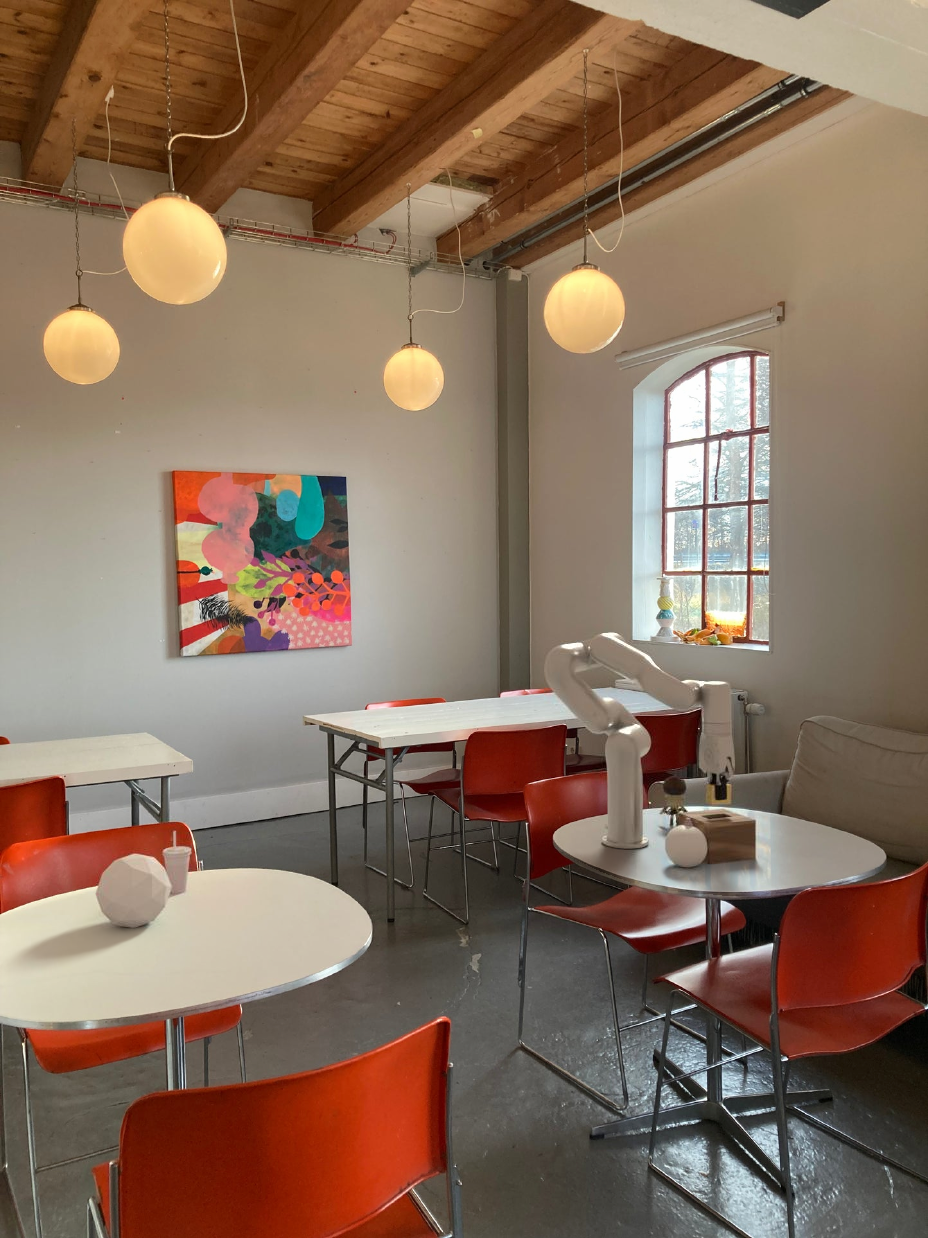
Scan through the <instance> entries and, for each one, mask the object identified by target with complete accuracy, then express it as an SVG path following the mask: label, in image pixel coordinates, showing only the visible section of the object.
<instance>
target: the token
mask: <svg viewBox="0 0 928 1238" xmlns="http://www.w3.org/2000/svg"><path fill="white" fill-rule="evenodd" d="M715 785H717V784H709V783H706V791H705V793H706V794H705V803H706V804H708V805H711V806H712V805H731V804H732V784H729V783H728V785H727V799H726V800H716V791H715Z"/></svg>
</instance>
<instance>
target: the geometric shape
mask: <svg viewBox="0 0 928 1238" xmlns="http://www.w3.org/2000/svg"><path fill="white" fill-rule="evenodd" d="M171 888H172V886H171V883H170V881H169V878H168V876H167V873H166V867H164V866H163V865H162V864H161V863H160V861H158V860H157V858H156V857H155V856H148V855H144V854H140V853H131V854H129V855H127V856H123V857H120V858H118V859H115V860H113V862H111V864H110V865H109V866H108V867H107V868H106V869H105V870H104V871H103V872H102V873H101V876H100V880H99V882H98V885H97V888H96V891H95V896H96V899H97V902H98V905H99V908H100V910H101V913H102V914H103V915H104V916H105V917H106V918H107V919H108V920H109V921H110V922H111V923H112V925H114V926H118V927H126V928H131V929H135V928H138V927H140V926H144V925H146V924H148V923H151V922H153V921H155V920H156V919H157V918H158V916H159V915H160V914H161V913H162V912H163V911H164V909H165V908H166V905H167V902H168V900H169V896H170V894H171V893H170V891H171Z"/></svg>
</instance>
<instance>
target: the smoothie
mask: <svg viewBox="0 0 928 1238" xmlns="http://www.w3.org/2000/svg"><path fill="white" fill-rule="evenodd" d="M172 833H173V834H172V835H173V837H172V840H173V842H172V843H173V846H170V847H167V848H165V849H163V850H162V856H163V857H164V866H165V871H166V873H167V876H168V878H169V881H170V883H171V886H172V888H171V891H170V894H172V895H178V894H183V893H185V892H187V883H188V874H189V865H190V857H191V856H190V855H191V854H192V848H191V847H189V846H183V845H181V846H180V845H179V846H177V831H176V830H173V832H172Z"/></svg>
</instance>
